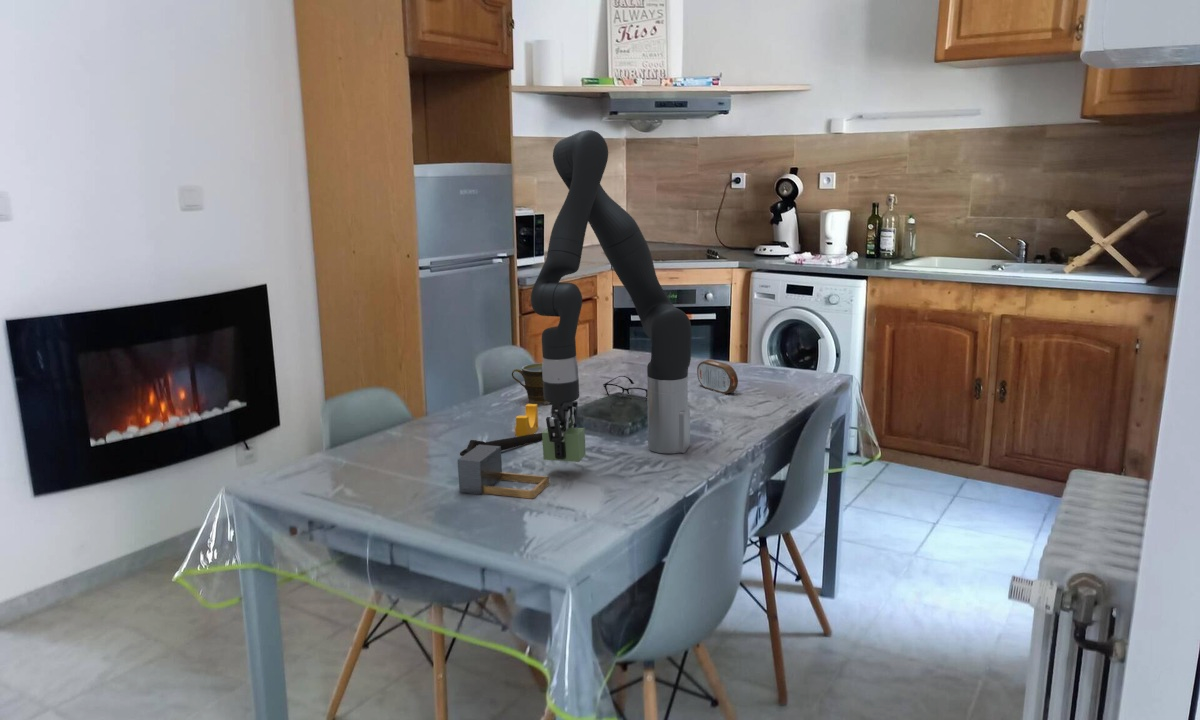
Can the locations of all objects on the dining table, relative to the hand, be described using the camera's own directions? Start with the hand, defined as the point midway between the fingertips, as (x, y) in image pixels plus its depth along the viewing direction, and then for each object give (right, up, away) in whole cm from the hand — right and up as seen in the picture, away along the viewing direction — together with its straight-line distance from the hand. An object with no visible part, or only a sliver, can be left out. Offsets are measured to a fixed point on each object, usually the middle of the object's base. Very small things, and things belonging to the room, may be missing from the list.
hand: (564, 454), depth 188 cm
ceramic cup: (-10, +8, +57) cm, 59 cm away
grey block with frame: (-12, -6, -6) cm, 15 cm away
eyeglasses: (+19, +10, +65) cm, 69 cm away
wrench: (-11, -1, +17) cm, 21 cm away
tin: (+41, +11, +65) cm, 78 cm away
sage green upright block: (0, -1, 0) cm, 1 cm away
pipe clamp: (-11, +1, +28) cm, 30 cm away
